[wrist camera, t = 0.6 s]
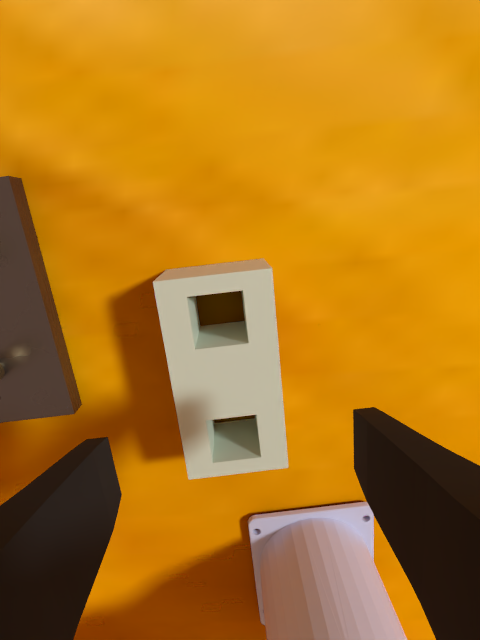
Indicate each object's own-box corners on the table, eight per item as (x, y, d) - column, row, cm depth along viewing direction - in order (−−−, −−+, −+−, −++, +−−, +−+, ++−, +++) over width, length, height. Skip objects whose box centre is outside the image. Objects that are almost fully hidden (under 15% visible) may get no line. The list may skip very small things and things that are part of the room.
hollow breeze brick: (278, 427, 21) (288, 467, 17) (194, 437, 21) (188, 479, 17) (263, 258, 18) (271, 267, 15) (166, 269, 18) (152, 281, 15)
